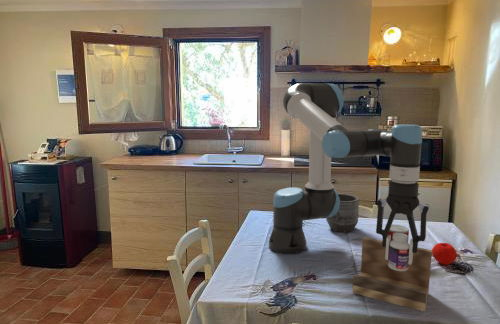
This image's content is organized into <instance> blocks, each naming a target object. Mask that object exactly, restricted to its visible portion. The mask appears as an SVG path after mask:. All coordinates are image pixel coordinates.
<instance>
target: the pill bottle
mask: <svg viewBox="0 0 500 324" xmlns="http://www.w3.org/2000/svg"><path fill="white" fill-rule="evenodd" d="M392 238H393V240H392V241H391V242H390V244H389V258H388V266H389V267H390V268H391V269H393V270H396V271H406V270H408V265H409V264H408V261H409V246H410V242H409V237H408V236H407V235H406V234H403V233H394V234H393V237H392ZM407 241H408V243H407Z"/></svg>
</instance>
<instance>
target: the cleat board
mask: <svg viewBox="0 0 500 324" xmlns="http://www.w3.org/2000/svg"><path fill="white" fill-rule="evenodd" d="M385 254H386V247H383V246H382V240H380V239H375V238H369V237H365V236H364V237H363V238H362V241H361V259H360V260H361V261H360V273H359V274H353V277H352V293H353V294H357V295H360V296H364V297H368V298H371V299H374V300H379V301H382V302H386V303H389V304H390V303H391V304H394V305H397V304H398V305H397V306H400V307H404V306H406V307H405V308H408V307H410V308H409V309H412V308H414V309H413V310H415V309H417V310H416V311H419V310H421V311H420V312H423V311H425V312H426V309H427V303H428V297H429V291H430V290H429V289H430V281H431V280H430V278H431V268H432V267H431V265H432V257H433V254H432V249H429V248H423V247H419V246H418V250H417V252H416V253H413V259H412V264H411V265H410V264H409V265H408V270H406V271H396V270H393V269H391V268H390V267H389V266H388V260H386V259H385Z"/></svg>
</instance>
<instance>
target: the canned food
mask: <svg viewBox="0 0 500 324" xmlns="http://www.w3.org/2000/svg"><path fill="white" fill-rule="evenodd" d="M409 230H410V228H408V227H407V226H404V225H401V224H392V225H391V228H390V230H389V233H388V235H391V241H392V240H393V238H392V237H393V234H394V233H403V234H406V235H407V236H408V238H409V234H410V233H409V232H410V231H409ZM407 243H409V240H408V241H407Z"/></svg>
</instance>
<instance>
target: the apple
mask: <svg viewBox="0 0 500 324" xmlns="http://www.w3.org/2000/svg"><path fill="white" fill-rule="evenodd" d="M431 250H432V257H433V258H434V259H435V260H436V262H437V263H439V264H441V265H444V266H448V265H450V264H452V263H454V262H455V261H456V259H457V257H458V252H457V251H456V249H455V247H454V246H453V245H452V244H449V243H447V242H438V243H437V244H434V245H433V247H432V249H431Z"/></svg>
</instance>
